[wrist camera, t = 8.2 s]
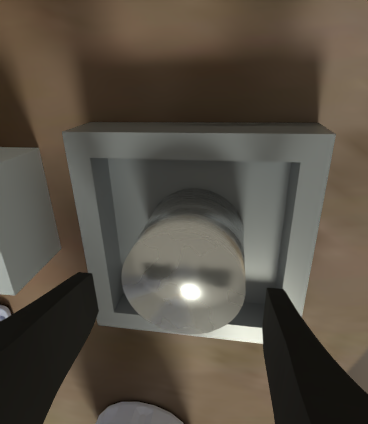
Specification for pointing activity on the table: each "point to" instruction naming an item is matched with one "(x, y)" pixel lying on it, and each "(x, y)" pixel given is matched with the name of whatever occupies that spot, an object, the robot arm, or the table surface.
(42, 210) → the pale upright block
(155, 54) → the table surface
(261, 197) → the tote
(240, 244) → the metal can
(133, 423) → the soap bottle
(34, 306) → the robot arm
